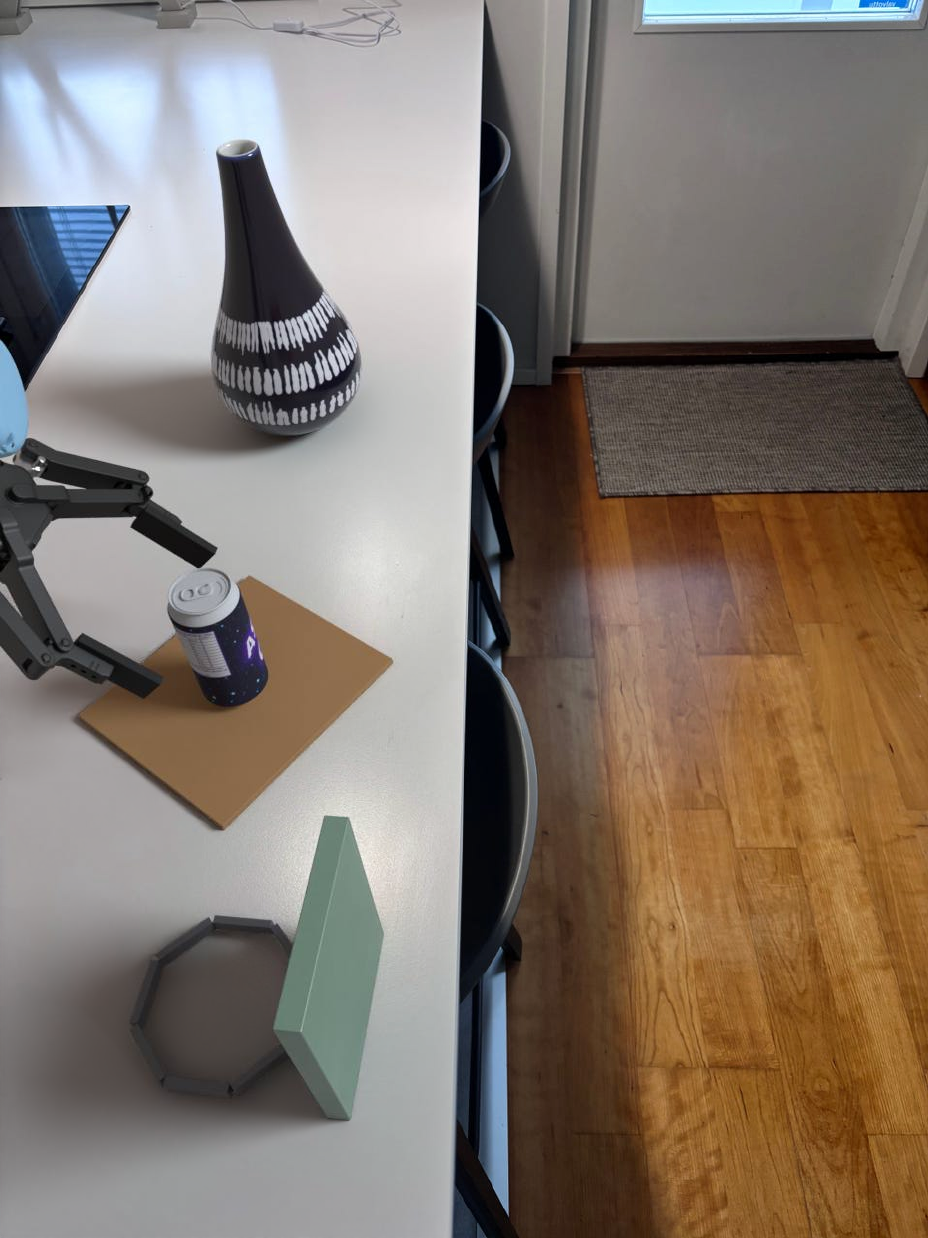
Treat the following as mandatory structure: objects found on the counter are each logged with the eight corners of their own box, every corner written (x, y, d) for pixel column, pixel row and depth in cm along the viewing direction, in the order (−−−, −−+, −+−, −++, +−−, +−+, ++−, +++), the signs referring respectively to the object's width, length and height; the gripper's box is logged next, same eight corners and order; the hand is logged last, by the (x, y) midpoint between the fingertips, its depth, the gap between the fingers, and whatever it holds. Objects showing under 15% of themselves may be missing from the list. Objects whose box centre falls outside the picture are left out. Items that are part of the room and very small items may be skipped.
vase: (205, 452, 104) (114, 181, 82) (263, 370, 114) (197, 108, 92) (340, 471, 100) (284, 192, 78) (388, 384, 110) (350, 115, 88)
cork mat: (224, 830, 72) (222, 826, 72) (80, 719, 80) (77, 715, 80) (393, 663, 82) (392, 658, 82) (250, 579, 90) (249, 574, 90)
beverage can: (275, 703, 80) (241, 606, 71) (208, 721, 79) (165, 625, 70) (265, 653, 83) (232, 556, 74) (201, 670, 82) (159, 573, 73)
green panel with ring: (115, 1093, 60) (9, 1002, 48) (174, 914, 68) (96, 797, 56) (350, 1121, 58) (301, 1033, 46) (384, 933, 66) (349, 816, 54)
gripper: (-22, 389, 76) (206, 534, 85) (-203, 623, 60) (104, 770, 69) (12, 331, 71) (250, 490, 81) (-175, 567, 55) (150, 733, 64)
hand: (183, 619), depth 75 cm, fingers open, 13 cm apart
